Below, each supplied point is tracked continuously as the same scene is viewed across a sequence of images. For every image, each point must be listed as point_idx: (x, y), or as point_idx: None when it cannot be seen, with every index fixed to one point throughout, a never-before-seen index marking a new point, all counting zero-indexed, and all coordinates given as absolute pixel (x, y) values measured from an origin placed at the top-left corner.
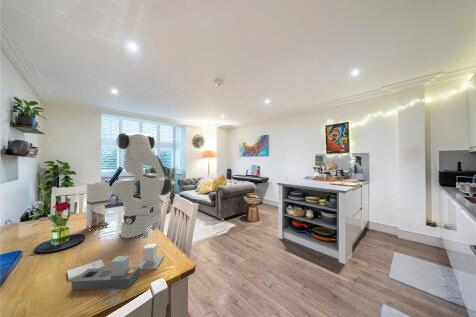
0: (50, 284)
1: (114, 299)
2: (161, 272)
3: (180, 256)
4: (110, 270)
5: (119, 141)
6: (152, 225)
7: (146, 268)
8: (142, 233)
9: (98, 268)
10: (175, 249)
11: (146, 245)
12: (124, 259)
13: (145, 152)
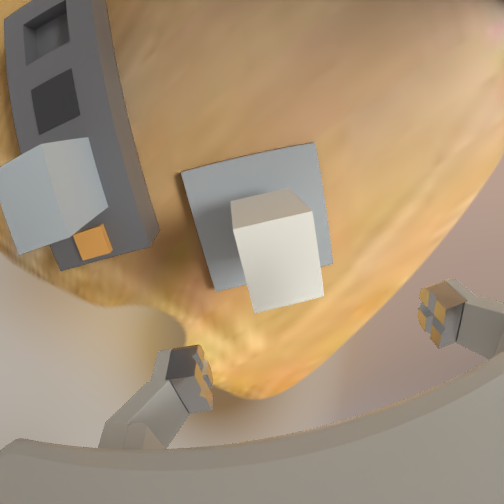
0: None
1: None
2: (203, 322)
3: (344, 331)
4: (81, 98)
5: None
6: (473, 304)
7: (201, 243)
8: (129, 405)
9: (91, 12)
10: (412, 270)
11: (289, 224)
12: (31, 243)
13: None
